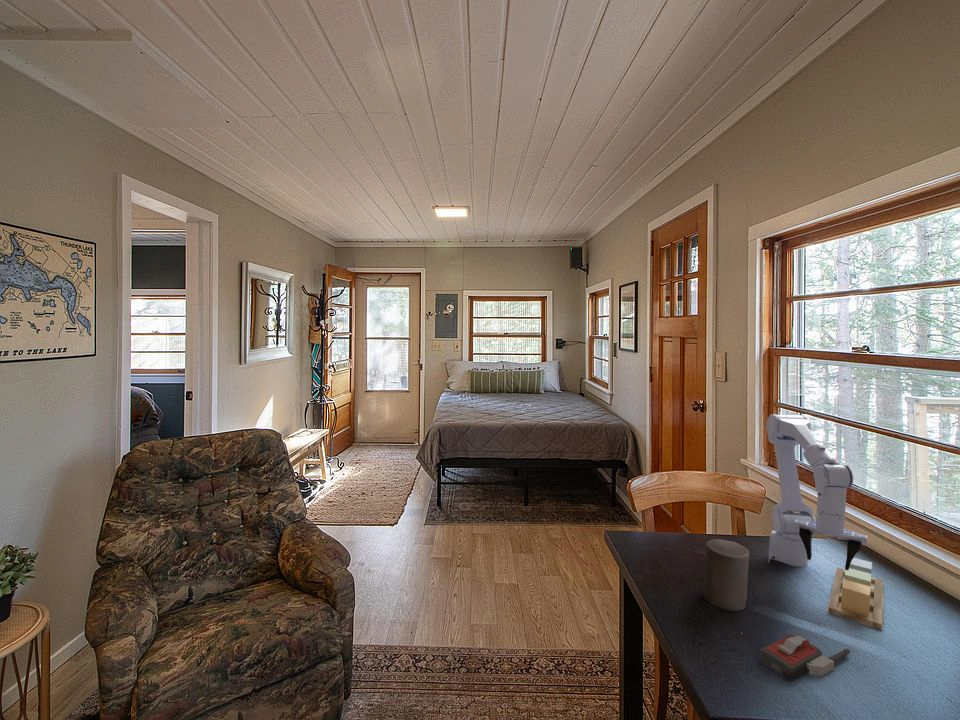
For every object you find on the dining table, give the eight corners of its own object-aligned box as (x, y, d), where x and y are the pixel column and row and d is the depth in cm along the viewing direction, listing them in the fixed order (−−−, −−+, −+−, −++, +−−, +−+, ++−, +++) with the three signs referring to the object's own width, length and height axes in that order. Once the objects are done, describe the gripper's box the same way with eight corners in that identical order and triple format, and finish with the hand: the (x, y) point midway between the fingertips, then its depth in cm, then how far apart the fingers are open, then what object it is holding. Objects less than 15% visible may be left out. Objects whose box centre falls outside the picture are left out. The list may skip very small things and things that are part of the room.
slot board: (826, 617, 109) (827, 607, 109) (835, 576, 128) (836, 567, 128) (882, 636, 102) (883, 624, 102) (883, 590, 121) (883, 580, 121)
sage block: (843, 597, 115) (844, 574, 115) (844, 589, 119) (845, 567, 118) (869, 605, 112) (870, 581, 111) (870, 597, 115) (871, 573, 115)
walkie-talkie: (799, 693, 86) (854, 659, 95) (800, 670, 86) (855, 639, 95) (753, 663, 94) (808, 635, 103) (754, 642, 94) (809, 616, 103)
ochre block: (842, 602, 113) (844, 579, 112) (869, 611, 109) (870, 586, 109) (840, 611, 109) (842, 587, 109) (868, 620, 106) (869, 595, 105)
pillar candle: (698, 600, 116) (700, 542, 115) (710, 584, 123) (712, 530, 122) (740, 616, 109) (744, 556, 108) (751, 599, 116) (754, 542, 115)
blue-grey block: (845, 585, 121) (846, 562, 121) (846, 577, 125) (847, 556, 124) (870, 592, 118) (871, 569, 117) (870, 584, 121) (872, 562, 121)
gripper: (793, 508, 117) (791, 559, 118) (867, 524, 108) (864, 580, 109) (797, 500, 123) (795, 550, 124) (868, 515, 113) (865, 568, 114)
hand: (827, 563), depth 117 cm, fingers open, 7 cm apart
